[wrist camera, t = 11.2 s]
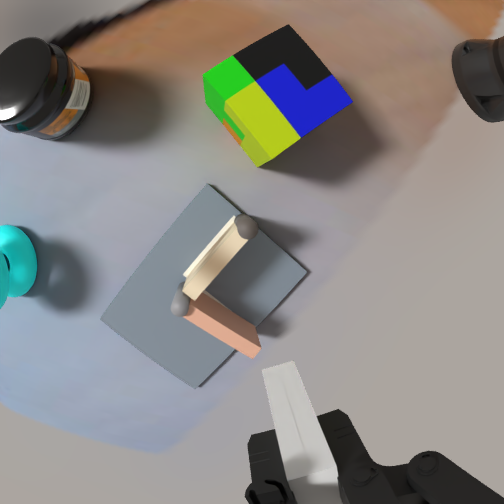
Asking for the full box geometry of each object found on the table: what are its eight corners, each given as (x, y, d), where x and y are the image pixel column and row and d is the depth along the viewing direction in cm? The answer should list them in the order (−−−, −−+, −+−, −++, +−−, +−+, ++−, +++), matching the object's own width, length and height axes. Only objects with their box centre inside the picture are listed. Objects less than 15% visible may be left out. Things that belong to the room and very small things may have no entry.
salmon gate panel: (175, 290, 37) (167, 310, 30) (183, 278, 37) (176, 296, 30) (246, 336, 39) (252, 362, 33) (255, 325, 39) (262, 350, 32)
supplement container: (110, 103, 33) (70, 71, 21) (49, 158, 33) (-5, 150, 21) (75, 52, 30) (35, 15, 19) (19, 105, 31) (-32, 85, 19)
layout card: (207, 183, 36) (207, 183, 35) (305, 270, 39) (307, 272, 39) (101, 316, 38) (99, 319, 37) (195, 386, 41) (195, 389, 40)
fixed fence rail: (241, 210, 36) (247, 214, 30) (254, 221, 37) (262, 228, 30) (186, 274, 37) (180, 291, 31) (199, 285, 37) (195, 304, 31)
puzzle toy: (320, 121, 36) (353, 101, 26) (257, 167, 37) (271, 159, 27) (271, 60, 34) (288, 24, 24) (205, 103, 34) (202, 74, 25)
